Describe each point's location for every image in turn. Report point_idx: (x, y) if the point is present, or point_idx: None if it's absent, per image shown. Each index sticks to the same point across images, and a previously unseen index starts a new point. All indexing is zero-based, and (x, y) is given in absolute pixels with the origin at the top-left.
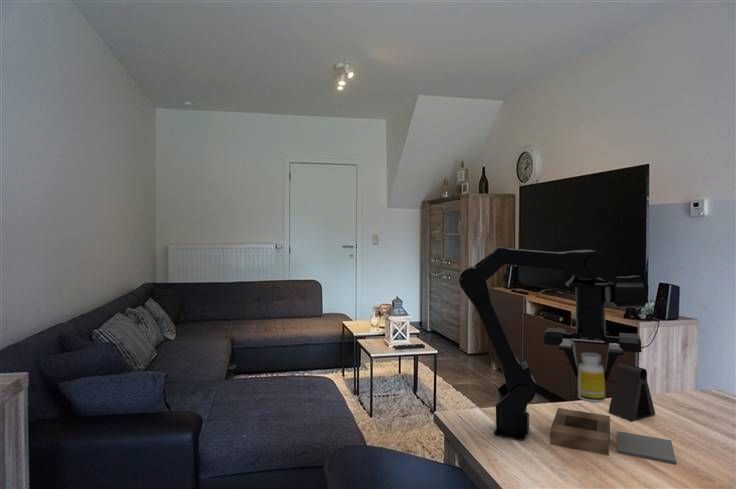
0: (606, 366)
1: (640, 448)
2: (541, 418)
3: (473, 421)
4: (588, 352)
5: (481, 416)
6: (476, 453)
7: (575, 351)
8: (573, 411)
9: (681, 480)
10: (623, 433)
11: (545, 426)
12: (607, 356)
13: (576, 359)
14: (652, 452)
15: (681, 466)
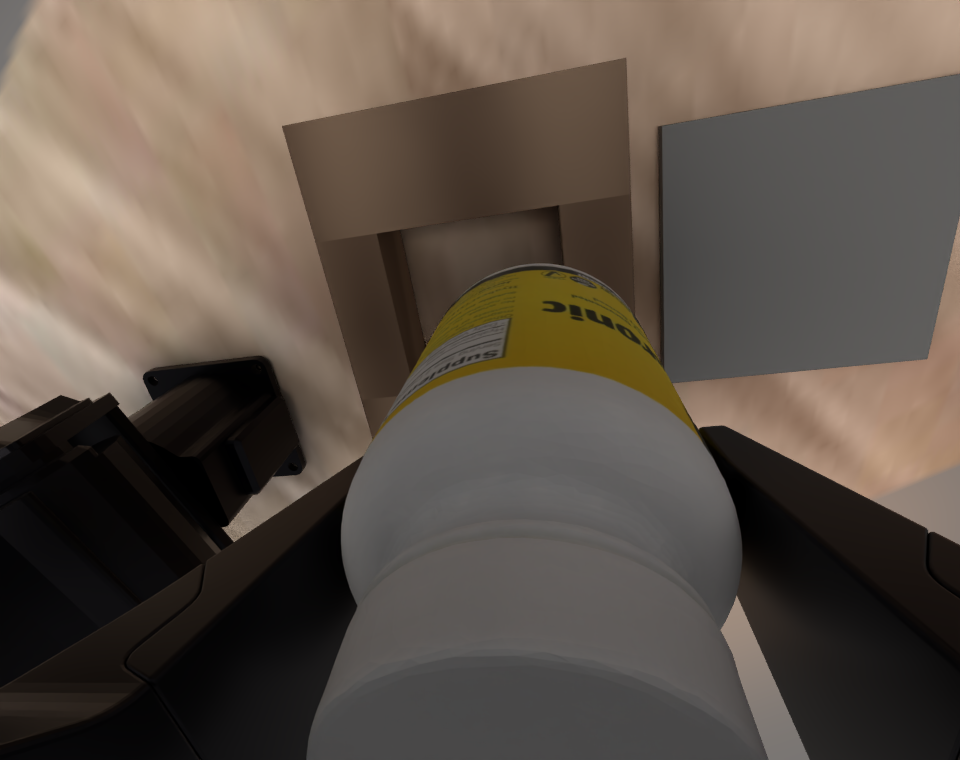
0: (798, 728)
1: (775, 308)
2: (237, 163)
3: (54, 397)
4: (417, 678)
5: (30, 326)
6: None
7: (134, 728)
8: (387, 135)
9: (895, 477)
10: (697, 145)
11: (305, 266)
12: (953, 709)
13: (274, 613)
14: (829, 321)
15: (936, 359)
